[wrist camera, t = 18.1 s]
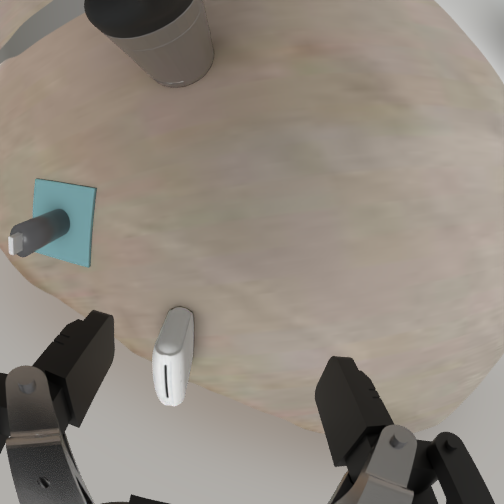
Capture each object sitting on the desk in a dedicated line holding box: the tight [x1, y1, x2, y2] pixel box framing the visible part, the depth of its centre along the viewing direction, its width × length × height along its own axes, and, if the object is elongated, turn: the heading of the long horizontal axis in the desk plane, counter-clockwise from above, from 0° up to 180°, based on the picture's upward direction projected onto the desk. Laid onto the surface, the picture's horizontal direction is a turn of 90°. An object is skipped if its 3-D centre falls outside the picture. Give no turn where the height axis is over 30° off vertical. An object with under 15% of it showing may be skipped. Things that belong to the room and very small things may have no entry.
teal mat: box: [33, 179, 97, 268], centre depth 37 cm, size 12×12×1 cm
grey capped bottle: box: [8, 209, 70, 257], centre depth 31 cm, size 4×4×12 cm
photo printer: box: [152, 307, 194, 406], centre depth 37 cm, size 10×4×12 cm, turn 173°
